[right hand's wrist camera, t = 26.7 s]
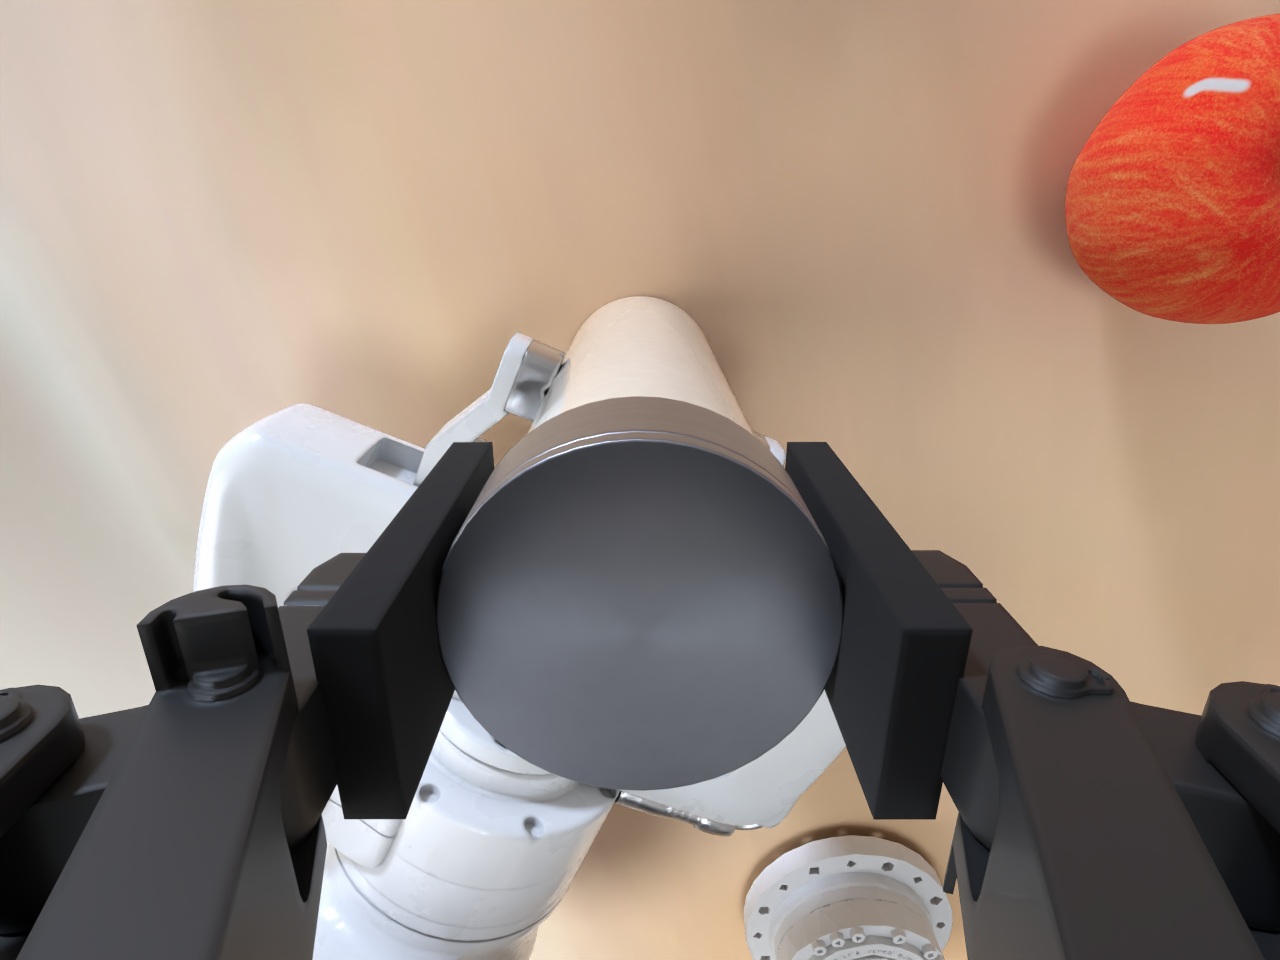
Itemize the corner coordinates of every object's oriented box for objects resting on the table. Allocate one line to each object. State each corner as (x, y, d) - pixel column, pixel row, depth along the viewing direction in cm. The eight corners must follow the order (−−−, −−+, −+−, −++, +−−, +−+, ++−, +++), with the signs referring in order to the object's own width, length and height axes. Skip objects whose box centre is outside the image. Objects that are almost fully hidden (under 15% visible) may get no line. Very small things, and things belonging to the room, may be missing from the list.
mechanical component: (709, 872, 35) (788, 993, 38) (718, 961, 31) (806, 1088, 34) (901, 801, 33) (966, 934, 37) (938, 885, 29) (1008, 1026, 32)
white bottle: (725, 417, 27) (839, 698, 12) (591, 452, 27) (531, 766, 12) (692, 278, 25) (774, 392, 10) (549, 318, 26) (414, 486, 10)
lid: (820, 391, 11) (862, 433, 9) (799, 696, 13) (829, 789, 11) (450, 398, 11) (407, 443, 9) (487, 701, 13) (459, 794, 11)
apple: (972, 201, 24) (1123, 199, 16) (1177, -15, 22) (1460, -131, 14) (1115, 354, 26) (1309, 415, 18) (1317, 169, 24) (1632, 154, 16)
